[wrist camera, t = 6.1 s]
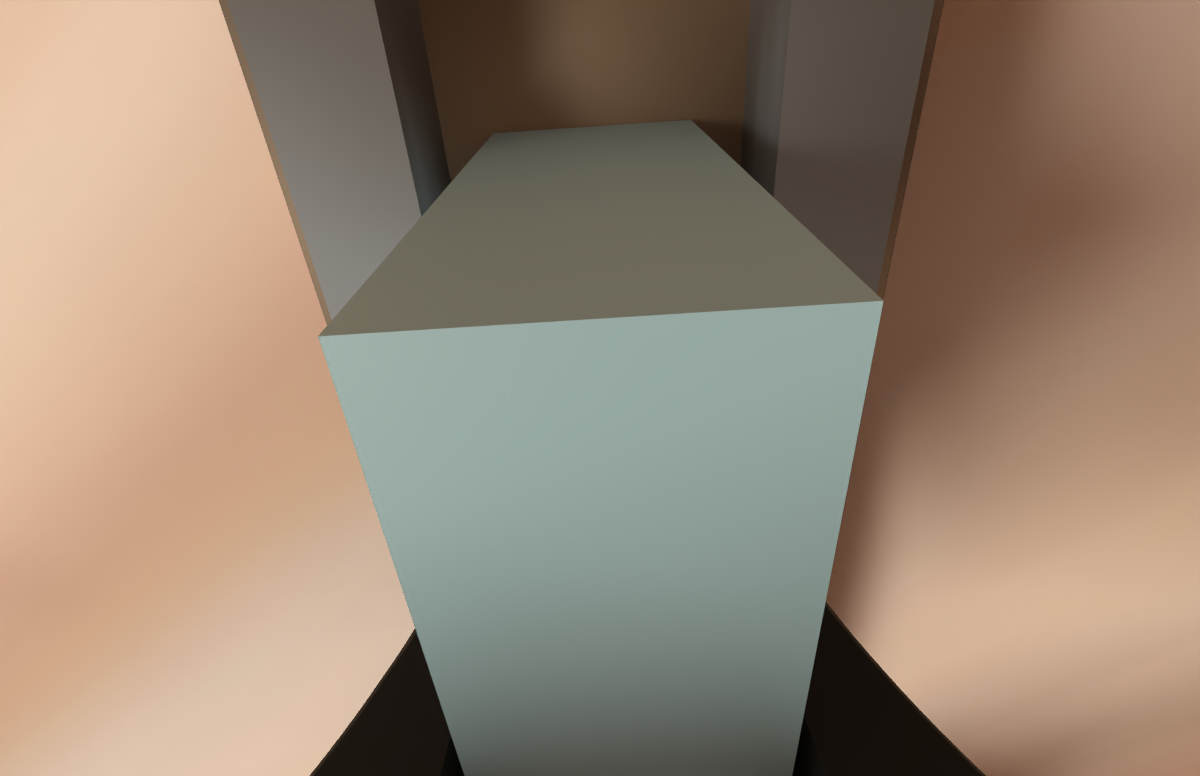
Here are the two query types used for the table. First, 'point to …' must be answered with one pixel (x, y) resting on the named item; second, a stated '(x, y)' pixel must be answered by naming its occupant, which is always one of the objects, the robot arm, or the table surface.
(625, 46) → the door track
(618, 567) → the door panel
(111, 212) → the table surface
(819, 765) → the robot arm
